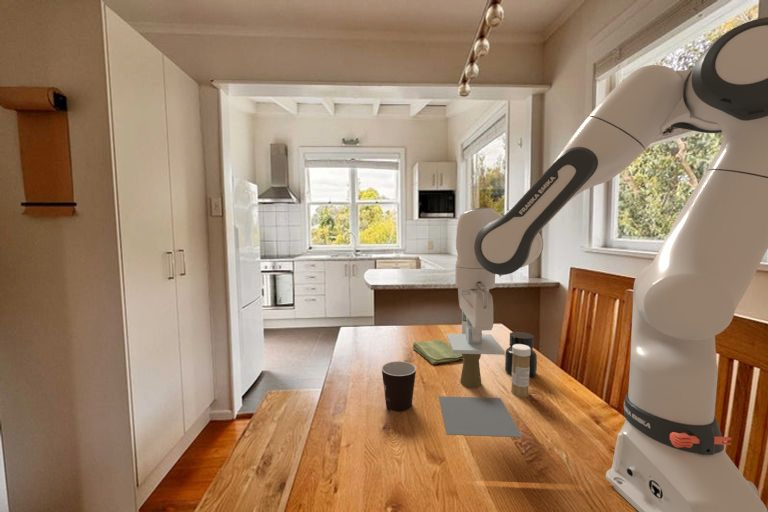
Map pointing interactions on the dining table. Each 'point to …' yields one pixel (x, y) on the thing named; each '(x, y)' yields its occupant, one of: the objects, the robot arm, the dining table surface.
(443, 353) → the washcloth
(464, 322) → the syrup box
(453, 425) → the mat
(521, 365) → the sprinkles bottle
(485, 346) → the lid
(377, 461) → the dining table surface
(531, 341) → the ink bottle
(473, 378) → the cork
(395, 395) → the coffee mug
